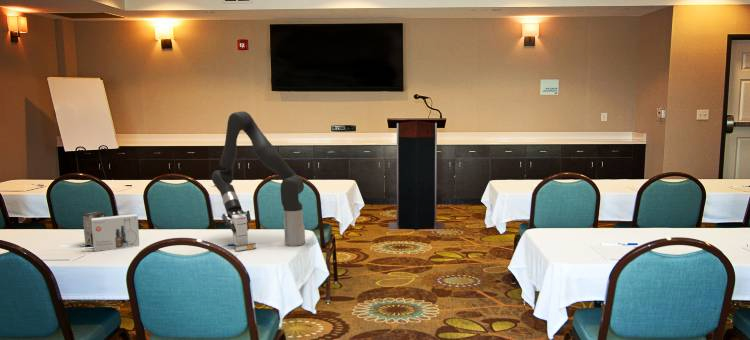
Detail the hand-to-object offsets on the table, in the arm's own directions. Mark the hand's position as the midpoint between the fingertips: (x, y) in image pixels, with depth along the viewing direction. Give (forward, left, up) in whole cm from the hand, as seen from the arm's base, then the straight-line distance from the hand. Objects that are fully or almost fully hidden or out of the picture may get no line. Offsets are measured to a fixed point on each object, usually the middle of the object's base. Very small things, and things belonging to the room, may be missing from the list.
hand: (241, 230), depth 290 cm
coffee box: (+80, 0, -9) cm, 81 cm away
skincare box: (+64, +6, -9) cm, 65 cm away
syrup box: (+1, -1, -7) cm, 8 cm away
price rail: (-3, +3, -9) cm, 10 cm away
